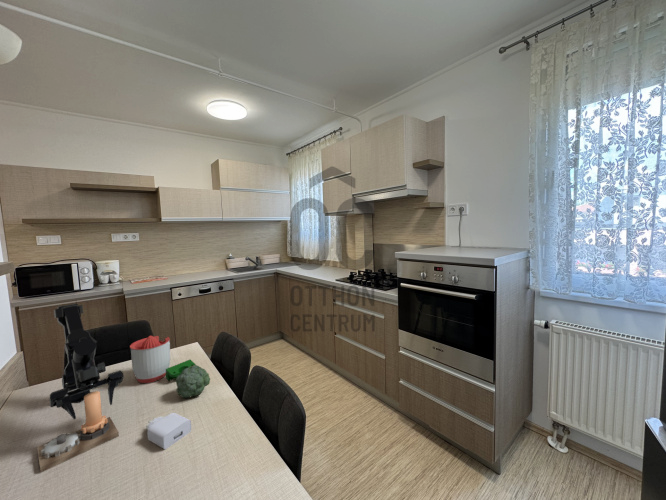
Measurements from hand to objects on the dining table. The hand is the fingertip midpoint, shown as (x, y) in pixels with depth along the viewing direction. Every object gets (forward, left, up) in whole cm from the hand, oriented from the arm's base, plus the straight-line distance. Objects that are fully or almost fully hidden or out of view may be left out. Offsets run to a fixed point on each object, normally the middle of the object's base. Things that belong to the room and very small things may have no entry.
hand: (93, 411), depth 92 cm
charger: (+22, -1, -9) cm, 24 cm away
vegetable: (+22, +23, -9) cm, 33 cm away
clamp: (+11, +37, -9) cm, 40 cm away
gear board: (-3, -3, -9) cm, 10 cm away
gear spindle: (0, 0, -7) cm, 7 cm away
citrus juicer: (-2, +39, -9) cm, 41 cm away
